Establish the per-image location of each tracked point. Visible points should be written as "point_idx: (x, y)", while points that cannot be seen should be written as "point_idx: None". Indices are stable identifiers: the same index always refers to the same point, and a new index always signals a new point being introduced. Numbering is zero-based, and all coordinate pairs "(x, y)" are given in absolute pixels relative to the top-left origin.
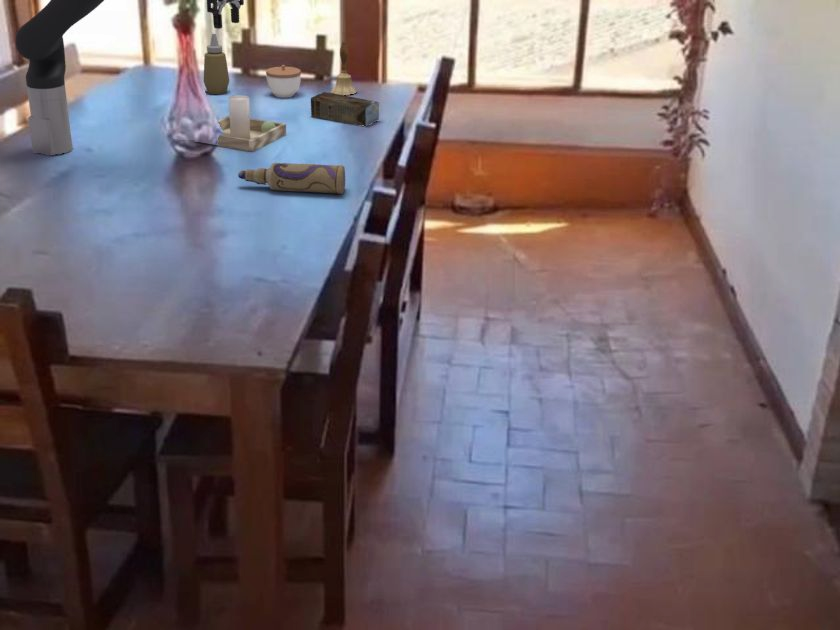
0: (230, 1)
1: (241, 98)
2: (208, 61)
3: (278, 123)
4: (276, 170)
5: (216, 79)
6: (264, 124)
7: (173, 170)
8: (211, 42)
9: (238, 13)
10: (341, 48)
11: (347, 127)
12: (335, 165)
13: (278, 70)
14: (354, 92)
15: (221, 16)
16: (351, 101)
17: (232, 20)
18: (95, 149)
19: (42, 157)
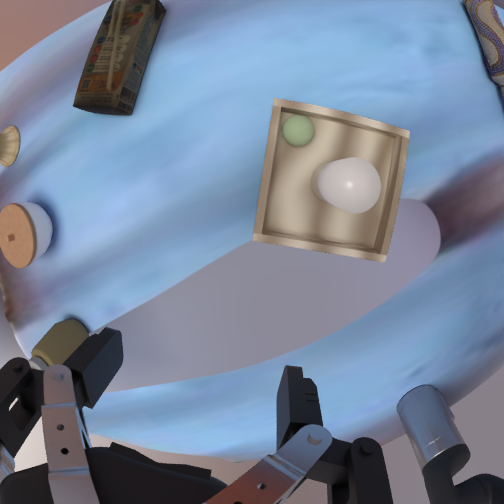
0: (130, 453)
1: (357, 177)
2: None
3: (277, 113)
4: None
5: (75, 340)
6: (310, 134)
7: (483, 232)
8: None
9: (87, 354)
10: None
11: (177, 31)
12: (485, 1)
13: (17, 244)
14: (10, 126)
15: (293, 411)
16: (119, 30)
17: (119, 362)
18: (413, 368)
19: None
